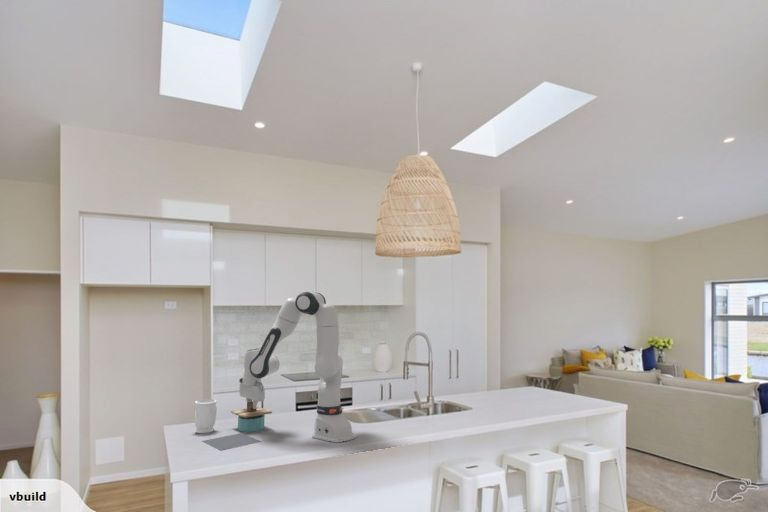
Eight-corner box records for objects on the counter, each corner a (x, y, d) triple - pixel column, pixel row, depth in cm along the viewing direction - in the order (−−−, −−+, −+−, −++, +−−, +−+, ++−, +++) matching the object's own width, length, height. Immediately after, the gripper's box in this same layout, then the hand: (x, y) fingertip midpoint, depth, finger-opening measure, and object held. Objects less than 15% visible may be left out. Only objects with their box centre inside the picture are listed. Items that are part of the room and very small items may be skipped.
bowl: (268, 429, 247) (269, 416, 247) (245, 434, 238) (245, 420, 238) (256, 424, 256) (256, 412, 257) (233, 429, 247) (233, 416, 248)
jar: (206, 435, 236) (207, 403, 237) (189, 433, 239) (190, 402, 240) (220, 429, 246) (221, 399, 247) (203, 428, 249) (204, 398, 250)
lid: (272, 413, 247) (272, 402, 248) (245, 418, 237) (245, 406, 237) (257, 408, 258) (257, 398, 258) (231, 412, 248) (231, 402, 248)
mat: (261, 442, 223) (261, 441, 223) (220, 451, 209) (220, 450, 210) (241, 434, 238) (241, 433, 238) (201, 442, 224) (201, 441, 224)
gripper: (268, 382, 244) (267, 410, 242) (248, 377, 258) (247, 403, 257) (256, 383, 239) (256, 412, 238) (237, 378, 254) (236, 405, 253)
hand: (251, 407), depth 248 cm, fingers closed on lid, 3 cm apart
